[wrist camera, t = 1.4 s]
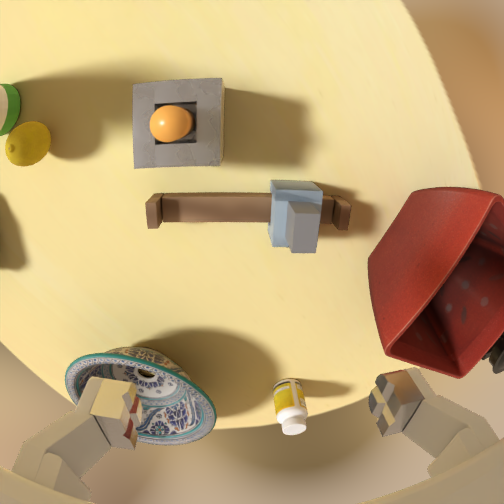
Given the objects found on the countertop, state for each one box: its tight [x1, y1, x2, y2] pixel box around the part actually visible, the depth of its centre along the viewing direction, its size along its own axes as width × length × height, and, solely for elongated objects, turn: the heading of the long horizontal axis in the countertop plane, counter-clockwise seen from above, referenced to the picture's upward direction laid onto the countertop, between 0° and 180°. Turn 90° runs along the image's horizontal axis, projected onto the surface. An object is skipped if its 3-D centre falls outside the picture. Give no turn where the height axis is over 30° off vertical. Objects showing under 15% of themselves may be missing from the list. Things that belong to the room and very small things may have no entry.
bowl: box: [65, 347, 217, 445], centre depth 43 cm, size 25×25×10 cm
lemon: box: [5, 121, 51, 166], centre depth 26 cm, size 6×6×8 cm
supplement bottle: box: [273, 379, 308, 435], centre depth 46 cm, size 5×5×10 cm
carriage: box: [268, 180, 323, 253], centre depth 31 cm, size 6×5×9 cm
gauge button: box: [150, 105, 195, 142], centre depth 23 cm, size 3×3×5 cm
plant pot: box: [368, 187, 504, 379], centre depth 32 cm, size 19×19×17 cm
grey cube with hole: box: [133, 78, 225, 169], centre depth 27 cm, size 8×8×8 cm
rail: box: [145, 192, 351, 230], centre depth 34 cm, size 3×23×4 cm, turn 88°
